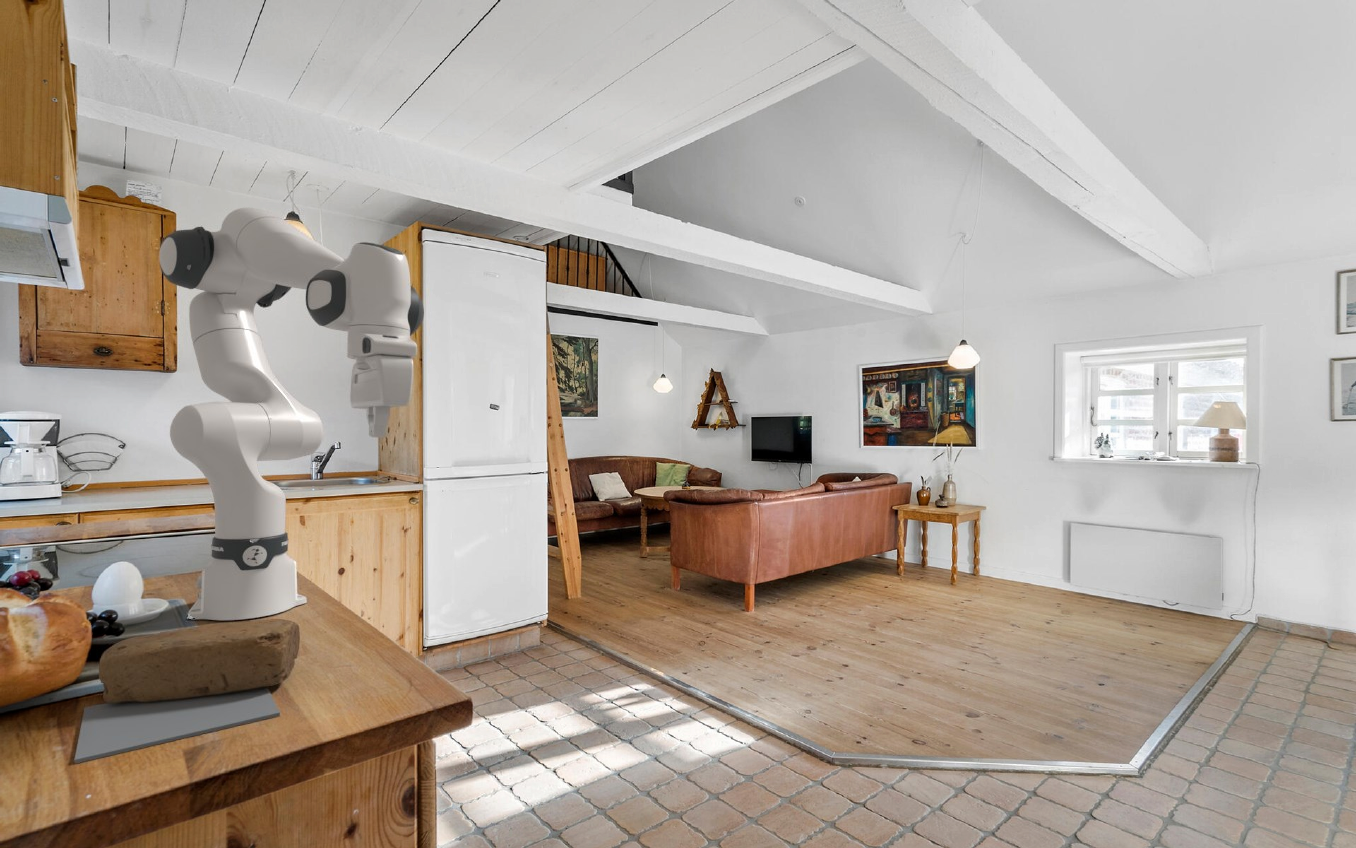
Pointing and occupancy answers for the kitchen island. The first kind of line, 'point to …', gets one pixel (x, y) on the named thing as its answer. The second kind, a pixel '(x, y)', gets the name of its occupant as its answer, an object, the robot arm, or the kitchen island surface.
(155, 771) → the kitchen island surface
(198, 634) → the block
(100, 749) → the mat
